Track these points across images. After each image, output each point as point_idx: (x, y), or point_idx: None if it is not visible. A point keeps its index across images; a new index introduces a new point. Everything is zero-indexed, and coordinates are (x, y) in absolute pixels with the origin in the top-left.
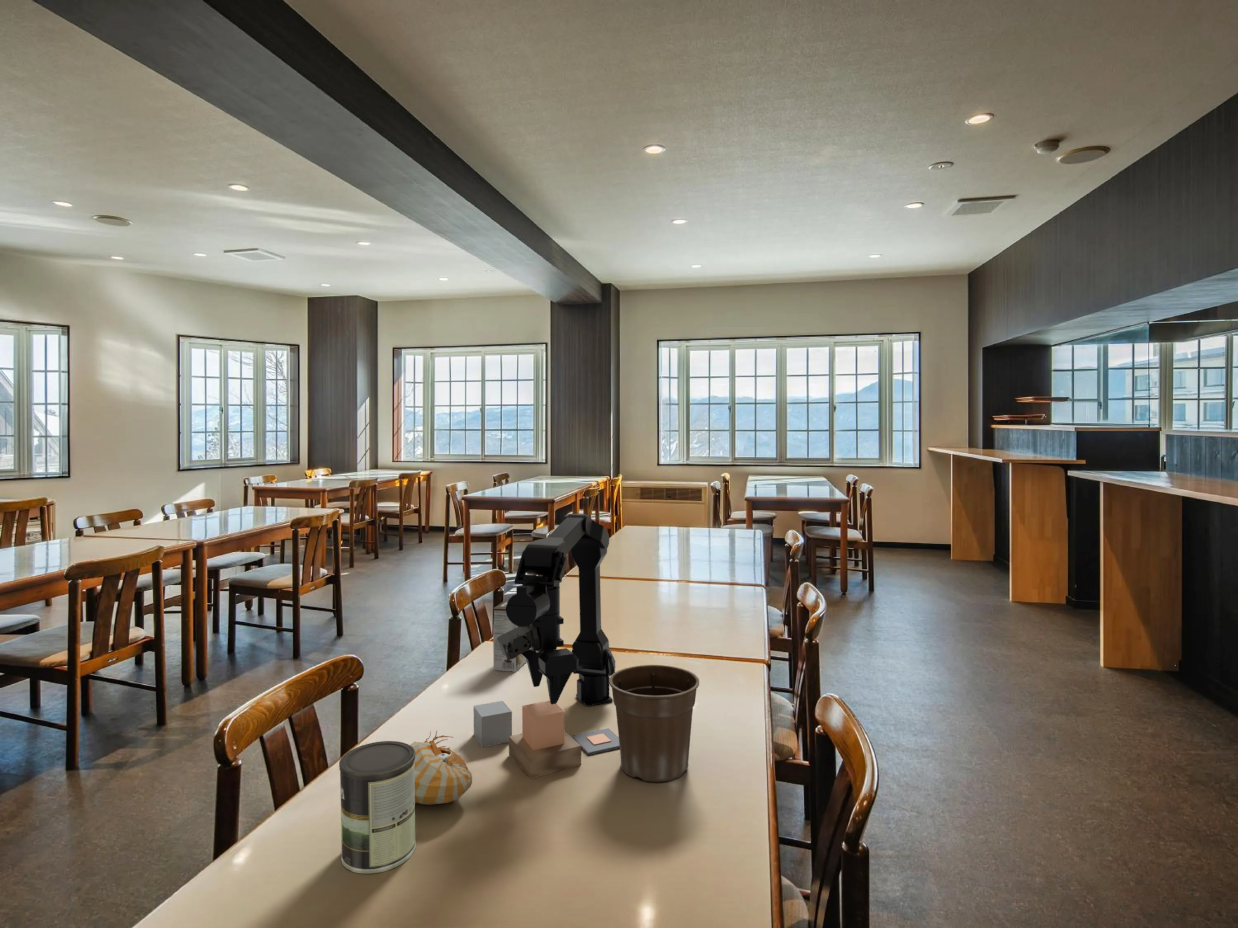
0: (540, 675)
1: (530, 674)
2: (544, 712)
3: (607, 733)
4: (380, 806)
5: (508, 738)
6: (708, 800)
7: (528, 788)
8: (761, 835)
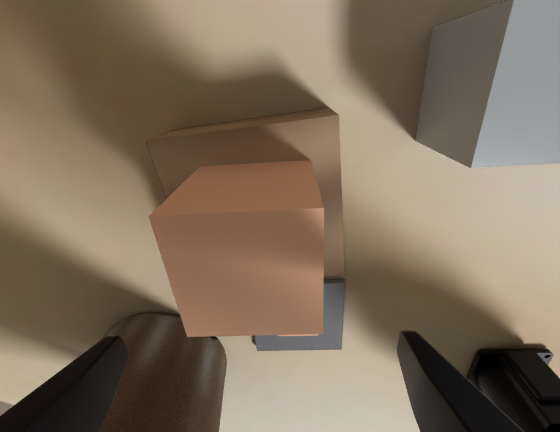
0: (423, 427)
1: (477, 396)
2: (199, 274)
3: (317, 340)
4: None
5: (421, 130)
6: (47, 370)
7: (117, 110)
8: None
